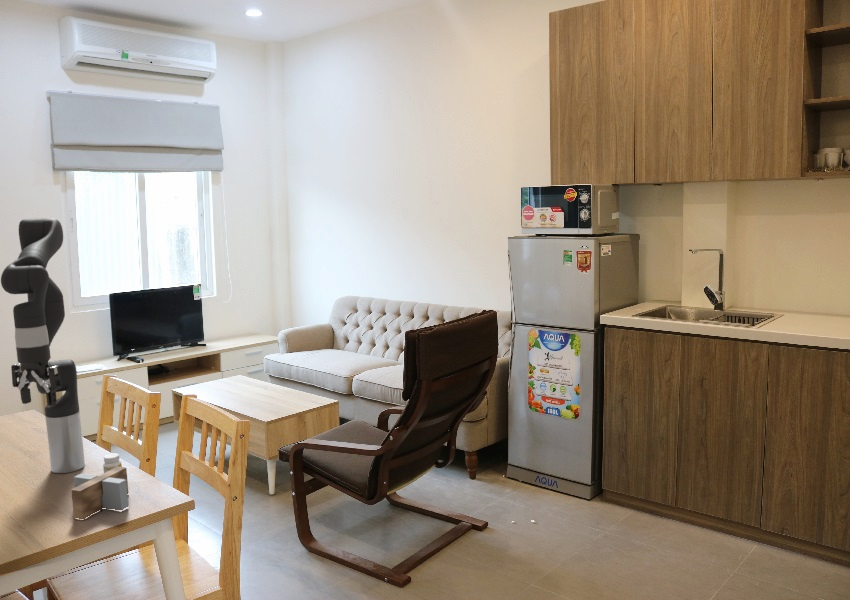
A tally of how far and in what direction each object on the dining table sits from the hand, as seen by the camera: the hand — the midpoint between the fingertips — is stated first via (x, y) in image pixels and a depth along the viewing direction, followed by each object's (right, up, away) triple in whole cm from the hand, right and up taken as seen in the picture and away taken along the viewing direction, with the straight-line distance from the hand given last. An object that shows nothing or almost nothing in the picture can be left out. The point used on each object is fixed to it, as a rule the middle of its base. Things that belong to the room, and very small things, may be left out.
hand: (39, 404), depth 187 cm
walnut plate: (+15, -28, +3) cm, 32 cm away
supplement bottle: (+12, -26, +18) cm, 34 cm away
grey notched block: (+15, -28, +3) cm, 32 cm away
